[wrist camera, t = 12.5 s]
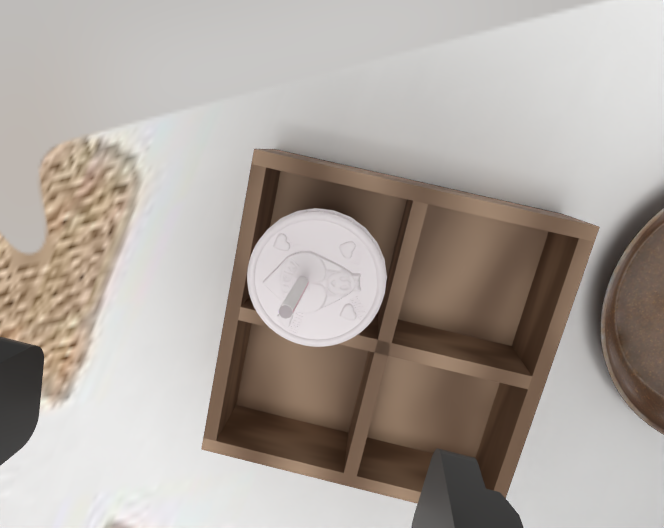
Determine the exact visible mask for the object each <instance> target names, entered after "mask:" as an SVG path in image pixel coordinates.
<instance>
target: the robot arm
mask: <svg viewBox="0 0 664 528" xmlns="http://www.w3.org/2000/svg"><path fill="white" fill-rule="evenodd" d="M43 365H44V354H43V351H42V349H41V348H40V347H38V346H35V345H31V344H27V343H23V342H19V341H15V340H11V339H8V338H3V337H0V465H2V464H3V463H4V462H5V461H6V460H8V459H9V458H10V457H11V456H13V455H14V454H15V453H16V452H18V451H19V450H20V449H21V448H22V447H23V446H24V445H25V444H26V443H27V441H28V440H29V439H30V437H31V436H32V434H33V432H34V430H35V427H36V425H37V422H38V417H39V409H40V398H41V387H42V376H43ZM412 528H523V525H522V522H521V520H520V517H519V514H518V513H517V512H516V511H515V510H514V508H513V507H512V506H511V505H510V504H509V502H508V501H507V500H506V499H505V497H504V496H503V495H502V494H501V493H500V492H497V491H493V490H489V489H486V488H485V484H484V481H483V478H482V475H481V471H480V468H479V465H478V462H477V460H476V458H474V457H470V456H466V455H462V454H458V453H454V452H450V451H446V450H442V449H436V450H435V451H434V453H433V455H432V458H431V461H430V464H429V468H428V471H427V474H426V478H425V481H424V484H423V488H422V491H421V494H420V498H419V501H418V504H417V508H416V511H415V514H414V518H413V523H412Z"/></svg>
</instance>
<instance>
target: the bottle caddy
mask: <svg viewBox="0 0 664 528" xmlns="http://www.w3.org/2000/svg"><path fill="white" fill-rule="evenodd" d="M314 208H318V209H326V210H334V211H337V212H339V213H342V214H344V215H347V216H349V217H352V218H353V219H354V220H356V221H357V222H358V223H360V224H361V225H362V226H364V227H365V228H366V229H367V230H368V231H369V233H370V234H371V235H372V236H373V238H374V239H375V240H376V241H377V243H378V245H379V247H380V250H381V252H382V254H383V257H384V259H385V266H386V273H387V280H386V288H385V295H384V297H383V301H382V303H381V306H380V308H379V310H378V312H377V314H376V316H375V317H374V319H373V320H372V321H371V323H370V324H369V325H368V326H367V327H366V328H365V329H364V330H363V331H362V332H360V333H359V334H358V335H356V336H355V337H353V338H351V339H349V340H347V341H345V342H342V343H339V344H336V345H332V346H325V347H313V346H305V345H301V344H297V343H294V342H291V341H289V340H287V339H285V338H283V337H281V336H280V335H278V334H277V333H275V332H274V331H273V330H272V329H271V328H269V327H268V326H267V325H266V324H265V322H264V321H263V320H262V319H261V317H260V316H259V315H258V313H257V311H256V309H255V308H254V306H253V303H252V301H251V298H250V295H249V290H248V283H247V272H248V265H249V260H250V257H251V254H252V252H253V249H254V248H255V246H256V244H257V242H258V241H259V239H260V238H261V237H262V236H263V234H264V233H265V232H266V231H267V229H268V228H270V227H271V226H272V225H273V224H275V223H276V222H277V221H278V220H279V219H281V218H283V217H285V216H287V215H289V214H292V213H294V212H296V211H300V210H307V209H314ZM598 230H599V227H598V226H596V225H593V224H590V223H587V222H584V221H581V220H578V219H575V218H572V217H570V216H567V215H564V214H560V213H556V212H551V211H547V210H543V209H538V208H534V207H529V206H525V205H520V204H516V203H511V202H507V201H503V200H498V199H494V198H489V197H485V196H480V195H476V194H471V193H467V192H463V191H458V190H454V189H449V188H445V187H440V186H436V185H431V184H427V183H423V182H418V181H414V180H409V179H405V178H400V177H396V176H391V175H387V174H383V173H378V172H374V171H369V170H365V169H360V168H356V167H351V166H347V165H343V164H338V163H334V162H329V161H325V160H320V159H316V158H311V157H307V156H303V155H298V154H294V153H289V152H285V151H280V150H276V149H254V153H253V159H252V164H251V170H250V176H249V181H248V187H247V193H246V198H245V204H244V210H243V216H242V221H241V227H240V233H239V238H238V244H237V250H236V255H235V261H234V267H233V272H232V278H231V284H230V289H229V295H228V301H227V307H226V312H225V318H224V324H223V329H222V335H221V341H220V346H219V352H218V358H217V363H216V369H215V375H214V381H213V386H212V392H211V398H210V403H209V409H208V415H207V420H206V426H205V432H204V437H203V443H202V450H206V451H210V452H214V453H218V454H222V455H226V456H230V457H234V458H238V459H242V460H246V461H250V462H254V463H258V464H262V465H266V466H270V467H274V468H278V469H282V470H286V471H290V472H294V473H298V474H302V475H306V476H310V477H314V478H318V479H322V480H326V481H330V482H334V483H338V484H342V485H346V486H350V487H354V488H358V489H362V490H366V491H370V492H374V493H378V494H382V495H386V496H390V497H394V498H398V499H402V500H406V501H410V502H414V503H418V501H419V498H420V494H421V491H422V488H423V484H424V481H425V478H426V474H427V471H428V468H429V464H430V461H431V458H432V455H433V453H434V451H435V450H436V449H442V450H446V451H450V452H454V453H458V454H462V455H466V456H470V457H474V458H476V460H477V462H478V465H479V468H480V471H481V475H482V478H483V481H484V484H485V488H486V489H489V490H493V491H497V492H500V493H501V494H502V495H503V496H504V497H505V498H506V495H507V493H508V490H509V487H510V484H511V481H512V478H513V475H514V472H515V469H516V467H517V464H518V461H519V458H520V455H521V452H522V449H523V446H524V444H525V441H526V438H527V435H528V432H529V429H530V426H531V423H532V420H533V418H534V415H535V412H536V409H537V406H538V403H539V400H540V397H541V395H542V392H543V389H544V386H545V383H546V380H547V377H548V374H549V371H550V369H551V366H552V363H553V360H554V357H555V354H556V351H557V348H558V345H559V343H560V340H561V337H562V334H563V331H564V328H565V325H566V322H567V320H568V317H569V314H570V311H571V308H572V305H573V302H574V299H575V296H576V294H577V291H578V288H579V285H580V282H581V279H582V276H583V273H584V271H585V268H586V265H587V262H588V259H589V256H590V253H591V250H592V247H593V245H594V242H595V239H596V236H597V233H598Z"/></svg>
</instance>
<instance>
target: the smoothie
mask: <svg viewBox="0 0 664 528" xmlns="http://www.w3.org/2000/svg"><path fill="white" fill-rule="evenodd" d="M386 280H387V273H386V266H385V259H384V257H383V254H382V252H381V250H380V247H379V245H378V243H377V241H376V240H375V239H374V238H373V236H372V235H371V234H370V233H369V231H368V230H367V229H366V228H365V227H364V226H362V225H361V224H360V223H358V222H357V221H356V220H354V219H353V218H352V217H349V216H347V215H344V214H342V213H339V212H337V211H334V210H326V209H318V208H314V209H307V210H300V211H296V212H294V213H292V214H289V215H287V216H285V217H283V218H281V219H279V220H278V221H277V222H276V223H275V224H273V225H272V226H271V227H270V228H268V229H267V231H266V232H265V233H264V234H263V236H262V237H261V238H260V239H259V241H258V242H257V244H256V246H255V248H254V249H253V252H252V254H251V257H250V260H249V265H248V272H247V283H248V290H249V295H250V298H251V301H252V303H253V306H254V308H255V309H256V311H257V313H258V315H259V316H260V317H261V319H262V320H263V321H264V322H265V324H266V325H267V326H268V327H269V328H271V329H272V330H273V331H274V332H275V333H277V334H278V335H280V336H281V337H283V338H285V339H287V340H289V341H291V342H294V343H297V344H301V345H305V346H313V347H325V346H332V345H336V344H339V343H342V342H345V341H347V340H349V339H351V338H353V337H355V336H356V335H358V334H359V333H360V332H362V331H363V330H364V329H365V328H366V327H367V326H368V325H369V324H370V323H371V321H372V320H373V319H374V317H375V316H376V314H377V312H378V310H379V308H380V306H381V303H382V301H383V297H384V295H385V288H386Z"/></svg>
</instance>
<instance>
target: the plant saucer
mask: <svg viewBox="0 0 664 528" xmlns="http://www.w3.org/2000/svg"><path fill="white" fill-rule="evenodd" d="M601 344H602V350H603V355H604V359H605V362H606V365H607V368H608V371H609V374H610V376H611V378H612V381H613V383H614V385H615V387H616V388H617V390H618V392H619V393H620V395H621V396H622V398H623V399H624V400H625V402H626V403H627V404H628V406H629V407H630V408H631V409H632V410H633V411H634V412H635V413H636V414H637V415H638V416H639V417H640V418H641V419H642V420H643V421H645V422H646V423H647V424H648V425H649V426H651V427H653V428H654V429H656V430H657V431H659V432H660V433H662V434H664V208H663V209H662V210H661V211H660V212H658V213H657V214H656V215H655V216H654V217H653V218H652V219H651V220H650V221H648V223H647V224H646V225H645V226H644V227H643V228H642V229H641V230H640V231H639V232H638V233H637V235H636V236H635V237H634V238H633V240H632V241H631V242H630V244H629V245H628V247H627V248H626V249H625V251H624V253H623V254H622V256H621V258H620V259H619V261H618V263H617V265H616V267H615V269H614V271H613V273H612V276H611V278H610V281H609V283H608V286H607V290H606V293H605V297H604V302H603V307H602V315H601Z"/></svg>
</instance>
